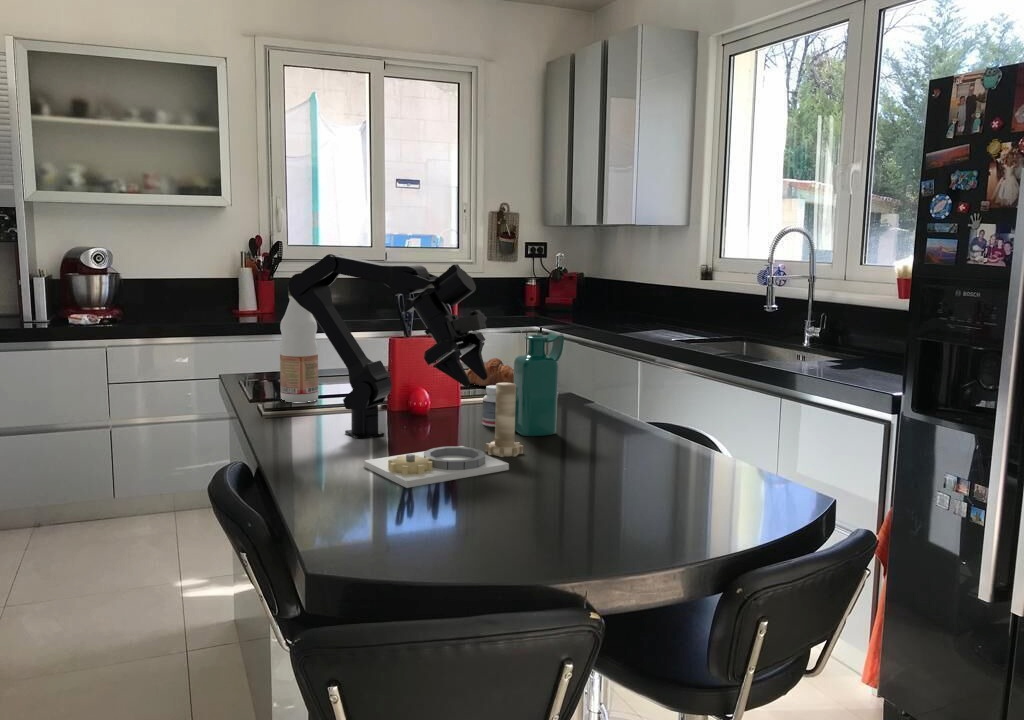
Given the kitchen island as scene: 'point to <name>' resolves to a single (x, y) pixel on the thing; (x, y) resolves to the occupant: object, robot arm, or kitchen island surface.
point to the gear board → (436, 472)
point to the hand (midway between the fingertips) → (477, 382)
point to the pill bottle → (489, 406)
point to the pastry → (492, 374)
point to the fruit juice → (298, 355)
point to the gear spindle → (505, 423)
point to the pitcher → (537, 386)
